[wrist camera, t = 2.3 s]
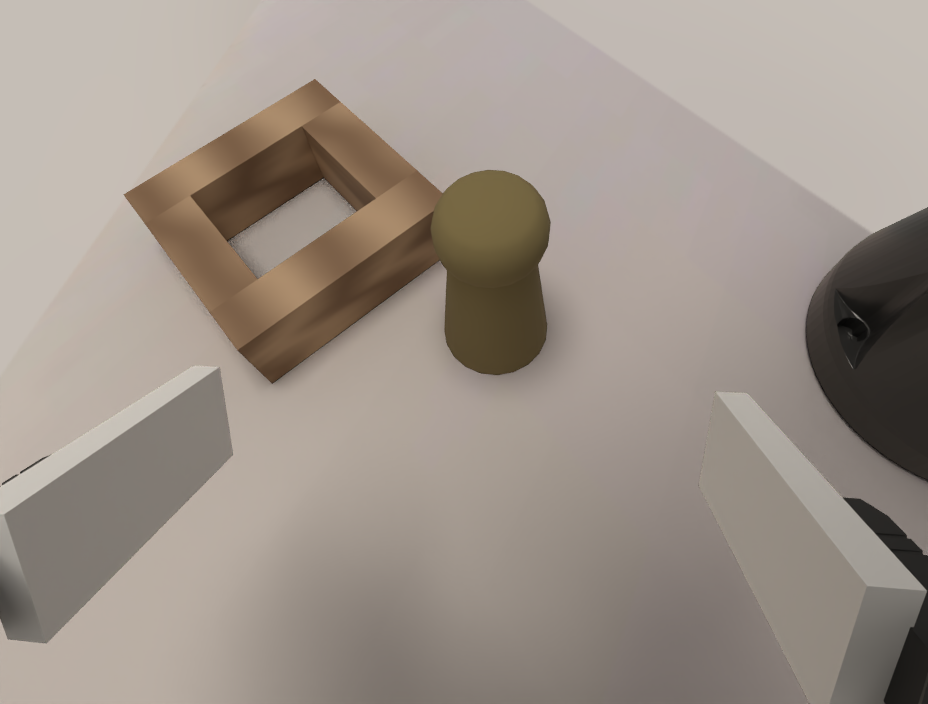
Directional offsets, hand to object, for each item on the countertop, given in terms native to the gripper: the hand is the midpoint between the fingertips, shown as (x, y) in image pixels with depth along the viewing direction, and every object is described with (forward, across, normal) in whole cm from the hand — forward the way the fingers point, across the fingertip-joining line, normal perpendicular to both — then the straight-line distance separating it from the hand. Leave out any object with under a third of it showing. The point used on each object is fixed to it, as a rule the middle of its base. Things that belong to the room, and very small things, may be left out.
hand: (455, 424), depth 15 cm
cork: (+18, 0, -3) cm, 18 cm away
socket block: (+22, -13, +1) cm, 25 cm away
